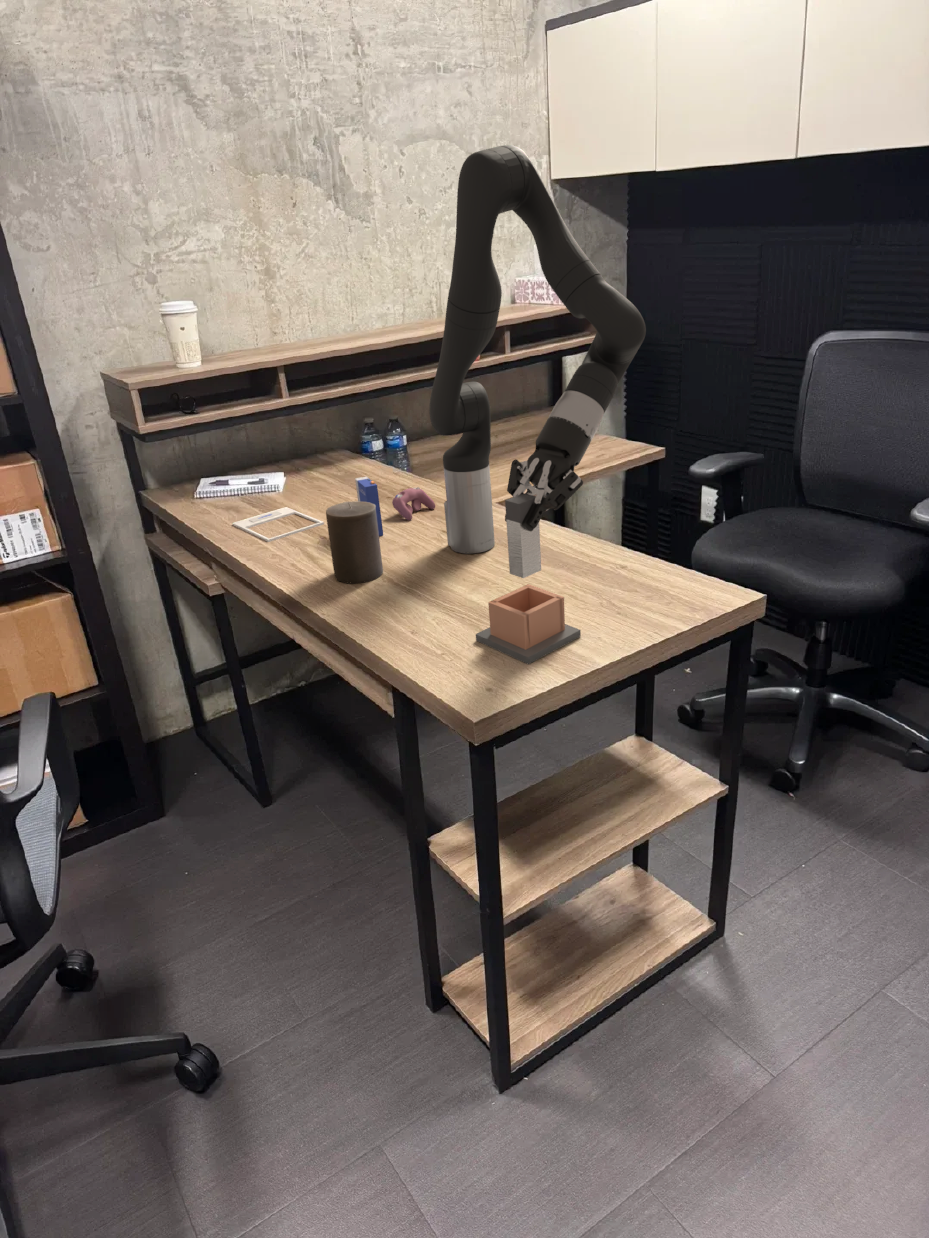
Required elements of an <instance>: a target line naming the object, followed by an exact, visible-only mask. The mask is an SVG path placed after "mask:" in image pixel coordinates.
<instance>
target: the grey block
mask: <svg viewBox="0 0 929 1238" xmlns="http://www.w3.org/2000/svg"><path fill="white" fill-rule="evenodd" d="M525 493H526V492H524V493H523V494H521V495H518V496H515V497H513V496H512V497H510V498H507V499H505V500H504V506H505V514H506V521H505V522H506V523H505V524H506V534H507V535H506V536H507V553H508V566H509V567H508V568H509V569H508V570H509V574H510V575H512V576H515V577H518V578H521V579H526V578H527V577H529V576H532V575H535V574H536V573H539V572H541V571H542V557H541V552H542V551H541V533H540V521H539V522H538V525H537V526H536V527H535V528H534V529H533V531H527V530H526V529H525V528H524V527H523V526H522V522H523V520H524V518H525V516H526V514H527V512H528V510H529V509H530V507H531V505H532V504H535V502H534V501H535V498H536V495H529V494H525Z"/></svg>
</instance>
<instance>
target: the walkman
mask: <svg viewBox="0 0 929 1238" xmlns="http://www.w3.org/2000/svg"><path fill="white" fill-rule="evenodd" d="M354 481H355V486H356V487H355V488H356V495H357V497H356V498H357V501H360V502H370V503H372V504H375V506H376V516H377V524H378V532H379V537H382V536H384V529H383V520H382V514H381V505H380V499H379V490H378V484H377V483H375V481H373V480H371V479H370V478H369V477H368V476H363V477H361V476H360V477H356V478H354Z"/></svg>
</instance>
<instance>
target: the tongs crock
mask: <svg viewBox="0 0 929 1238" xmlns="http://www.w3.org/2000/svg"><path fill="white" fill-rule="evenodd" d="M487 603H488V617H489V627H487V628H485V629H482V630H481V631H479V632H477V633H475V641H476V642H478V643H480V644H482V645H484V646H485V645H486V646H487V647H490V648H492V649H494V650H496V651H498V652H500V653H503V654H505V655H507V656H509V657H511V658H514V659H515V660H518V661H520V662H522V663H525V664H527V665H529V664H530V665H531V664H532V663H534V662H536V661H537V660H539V659H541V658H543V657H545V656H546V655H549V654H550V653H552V652H554V651H556V650H558V649H560V648H562V647H564V646H565V645H568V644H569V643H572V642H573V641H574V640H576V639H579V638H581V631H582V630H581V629H580V628H577V627H574V626H572V625H569V624H567V623H566V620H565V619H566V618H565V597H564V596H563V595H560V594H557V593H554V592H551V591H549V590H545V589H543V588H541V587H538V586H534V585H532V584H530V583H528V584H525V585H523V586H521V587H519V588H516V589H515V590H512V591H510V592H508V593H507V592H506V593H505V594H503V595H501V596H499V597H496V598H495V599H492V600H490V601H488V602H487Z"/></svg>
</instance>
